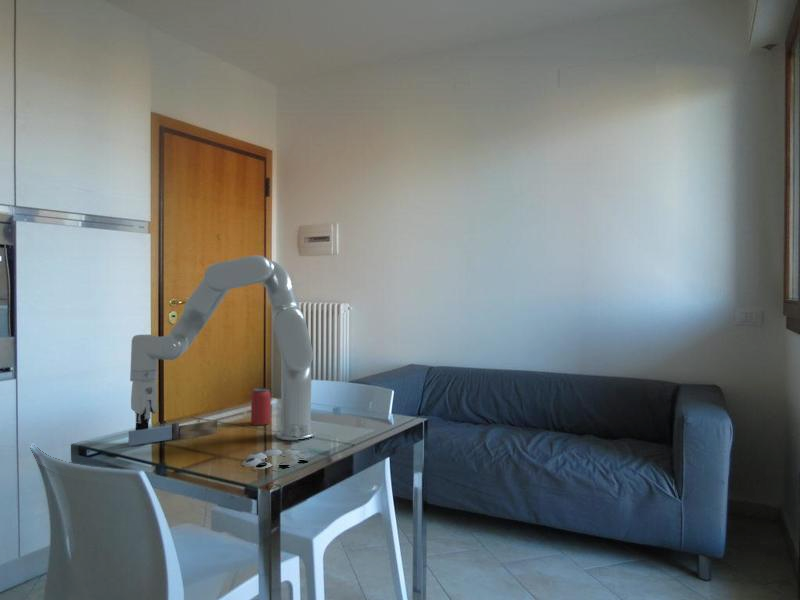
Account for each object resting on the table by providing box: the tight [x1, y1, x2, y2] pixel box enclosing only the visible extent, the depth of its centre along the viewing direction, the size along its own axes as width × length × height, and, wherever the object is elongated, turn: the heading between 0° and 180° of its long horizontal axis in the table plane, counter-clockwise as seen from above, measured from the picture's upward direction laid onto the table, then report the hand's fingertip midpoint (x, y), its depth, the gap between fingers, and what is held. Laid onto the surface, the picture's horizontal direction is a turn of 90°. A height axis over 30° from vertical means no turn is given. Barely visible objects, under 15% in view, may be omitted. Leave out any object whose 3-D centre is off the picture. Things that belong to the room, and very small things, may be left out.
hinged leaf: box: [128, 425, 172, 446], centre depth 169 cm, size 12×1×4 cm, turn 130°
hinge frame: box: [171, 420, 218, 441], centre depth 178 cm, size 14×2×5 cm, turn 132°
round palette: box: [241, 448, 306, 469], centre depth 153 cm, size 20×20×2 cm
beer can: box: [250, 387, 272, 426], centre depth 197 cm, size 7×7×12 cm
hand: (141, 435), depth 170 cm, fingers closed
